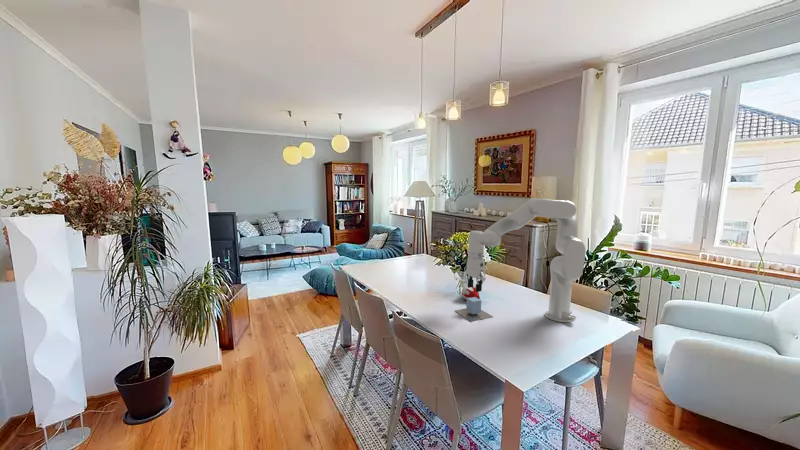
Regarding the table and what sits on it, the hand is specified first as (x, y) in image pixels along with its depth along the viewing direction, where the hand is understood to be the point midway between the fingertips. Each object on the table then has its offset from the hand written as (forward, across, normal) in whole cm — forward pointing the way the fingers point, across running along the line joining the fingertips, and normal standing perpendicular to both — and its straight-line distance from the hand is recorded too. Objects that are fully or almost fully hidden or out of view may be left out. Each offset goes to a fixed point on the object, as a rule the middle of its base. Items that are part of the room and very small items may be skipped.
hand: (474, 288), depth 157 cm
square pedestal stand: (+14, 0, 0) cm, 14 cm away
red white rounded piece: (+14, +17, -11) cm, 24 cm away
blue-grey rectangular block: (+12, 0, 0) cm, 12 cm away
